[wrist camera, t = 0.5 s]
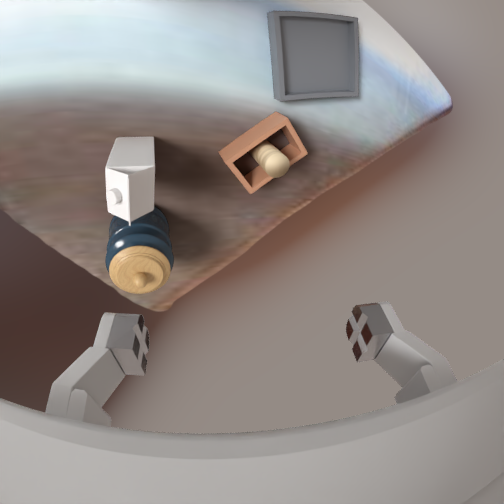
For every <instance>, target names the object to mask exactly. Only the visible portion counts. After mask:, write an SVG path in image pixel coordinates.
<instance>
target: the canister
mask: <svg viewBox="0 0 504 504" xmlns="http://www.w3.org/2000/svg"><path fill="white" fill-rule="evenodd" d="M105 262H106V267H107V270H108V272H109V274H110V277H111V279H112V281H113V282H114V283H115V285H117V286H118V287H119V288H121V289H122V290H124V291H127V292H130V293H136V294H143V293H149V292H152V291H155V290H157V289H159V288H160V287H162V286H163V285H164V284H165V283H166V281H167V280H168V278H169V276H170V272H171V270H172V267H173V263H174V257H173V253H172V245H171V241H170V238H169V226H168V222H167V219H166V218H165V216H164V214H163V213H162V212H161V210H160V209H158V208H157V207H155V206H154V210H153V211H151V212H149V213H147V214H145V215H143V216H141V217H139V218H137V219H135V220H133V221H131V226H129V221H126V220H124V219H122V218H120V217H118V216H115V215H114V217H113V219H112V221H111V223H110V228H109V241H108V244H107V254H106V260H105Z"/></svg>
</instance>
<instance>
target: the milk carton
mask: <svg viewBox="0 0 504 504" xmlns="http://www.w3.org/2000/svg"><path fill="white" fill-rule="evenodd" d="M105 171H106V192H107V193H106V198H107V206H108V212H109V213H111V214H113V215H115V216H118V217H120V218H122V219H124V220H126V221H129V226H131V221H133V220H135V219H137V218H139V217H141V216H143V215H145V214H147V213H149V212H151V211H153V210H154V184H155V155H154V137H118V138H116V141H115V143H114V146H113V148H112V151H111V154H110V156H109V159H108V162H107V165H106V170H105Z"/></svg>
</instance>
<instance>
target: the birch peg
mask: <svg viewBox="0 0 504 504" xmlns="http://www.w3.org/2000/svg"><path fill="white" fill-rule="evenodd" d="M249 154H250V155H251V156H252V157H253V158H254V159H255V160H256V161H257V163H258V164H259V165H260V166H261V167H262V168H263V169H264V170H265V172H266V173H267V174H268V175H269V176H271V177H273V178H278V177H281V176H283V175H284V174H286V172H287V171H288V169H289V166H290V163H289V160H288V158H287V157H286V156H285V155H284V154H283V153H281V152H280V151H279V150H278V149H277V148H276V147H274V146H273V145H272V144H271V143H270V142H269V141H267V140H266V139H265V140H263V141H262V142H260V143H259V144H258V145H256V146H255V147H253V148H252V149H251V150H249Z"/></svg>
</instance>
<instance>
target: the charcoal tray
mask: <svg viewBox="0 0 504 504" xmlns="http://www.w3.org/2000/svg"><path fill="white" fill-rule="evenodd" d="M267 18H268V28H269V39H270V51H271V63H272V75H273V89H274V99H277V100H279V101H287V100H297V99H308V98H323V97H346V96H358V91H359V37H358V18H355V17H348V16H341V15H333V14H324V13H313V12H296V11H271V12H268V13H267Z"/></svg>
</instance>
